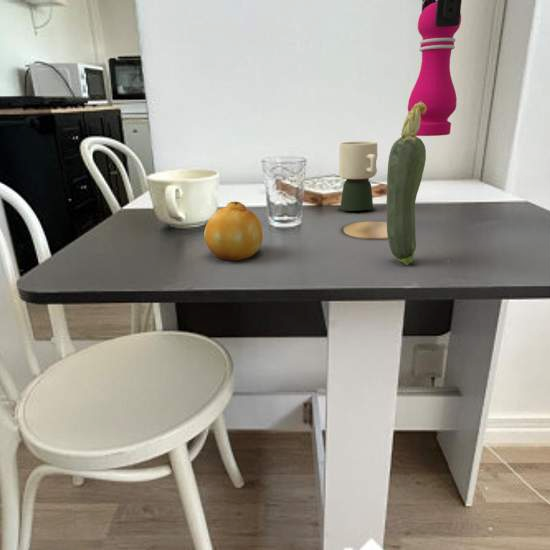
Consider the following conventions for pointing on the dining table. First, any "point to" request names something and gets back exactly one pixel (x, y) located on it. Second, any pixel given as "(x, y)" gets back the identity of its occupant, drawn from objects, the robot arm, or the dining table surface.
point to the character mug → (357, 174)
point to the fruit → (233, 232)
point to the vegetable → (405, 186)
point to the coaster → (367, 230)
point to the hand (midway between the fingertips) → (438, 28)
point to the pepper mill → (434, 75)
